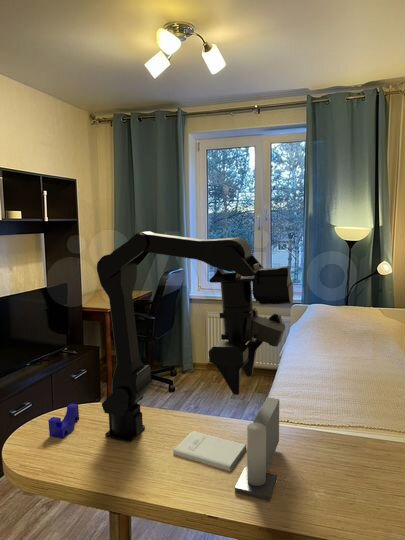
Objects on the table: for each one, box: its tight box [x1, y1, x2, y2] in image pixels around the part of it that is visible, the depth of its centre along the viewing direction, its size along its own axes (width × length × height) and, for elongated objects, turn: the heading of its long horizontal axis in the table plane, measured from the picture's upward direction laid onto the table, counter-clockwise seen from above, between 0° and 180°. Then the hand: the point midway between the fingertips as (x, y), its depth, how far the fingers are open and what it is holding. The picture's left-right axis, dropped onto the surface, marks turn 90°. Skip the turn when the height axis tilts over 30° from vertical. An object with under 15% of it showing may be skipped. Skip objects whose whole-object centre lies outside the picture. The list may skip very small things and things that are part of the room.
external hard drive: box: [172, 430, 247, 472], centre depth 83 cm, size 2×8×12 cm
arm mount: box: [234, 466, 278, 502], centre depth 72 cm, size 6×6×1 cm
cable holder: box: [48, 403, 80, 440], centre depth 92 cm, size 8×4×4 cm, turn 162°
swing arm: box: [246, 397, 280, 486], centre depth 76 cm, size 3×15×10 cm, turn 158°
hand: (243, 384), depth 79 cm, fingers open, 9 cm apart
